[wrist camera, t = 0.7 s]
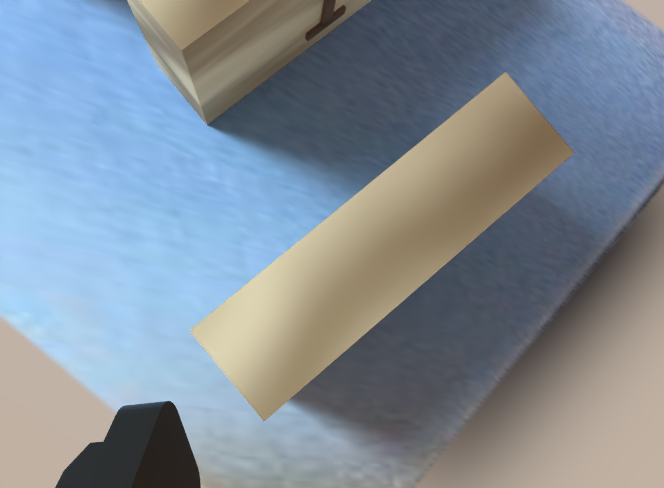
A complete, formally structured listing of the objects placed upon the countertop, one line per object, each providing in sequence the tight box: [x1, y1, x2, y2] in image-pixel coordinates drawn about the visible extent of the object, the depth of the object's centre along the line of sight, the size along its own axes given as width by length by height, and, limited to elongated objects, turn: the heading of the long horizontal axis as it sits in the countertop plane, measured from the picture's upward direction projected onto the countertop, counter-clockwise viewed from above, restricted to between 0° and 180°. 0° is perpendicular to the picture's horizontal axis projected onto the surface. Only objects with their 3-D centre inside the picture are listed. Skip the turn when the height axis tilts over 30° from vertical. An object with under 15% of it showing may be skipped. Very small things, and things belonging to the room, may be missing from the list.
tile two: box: [190, 72, 574, 421], centre depth 26 cm, size 4×15×9 cm, turn 130°
